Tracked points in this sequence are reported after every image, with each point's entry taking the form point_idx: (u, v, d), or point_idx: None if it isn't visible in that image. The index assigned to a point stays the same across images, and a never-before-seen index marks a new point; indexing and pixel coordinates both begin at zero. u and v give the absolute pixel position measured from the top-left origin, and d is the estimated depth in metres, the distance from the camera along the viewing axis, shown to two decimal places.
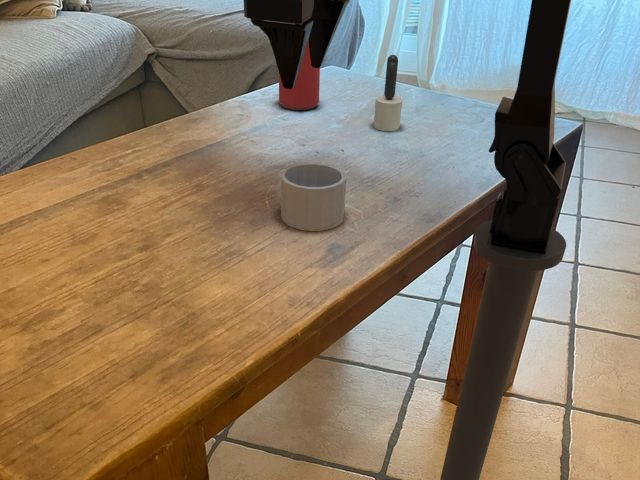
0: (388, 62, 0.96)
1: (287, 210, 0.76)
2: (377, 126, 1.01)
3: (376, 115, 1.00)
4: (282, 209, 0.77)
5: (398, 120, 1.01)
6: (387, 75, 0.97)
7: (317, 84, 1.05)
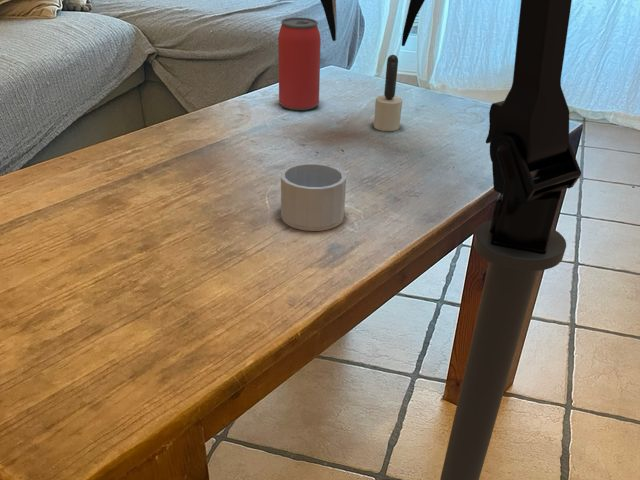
0: (388, 62, 0.96)
1: (287, 210, 0.76)
2: (377, 126, 1.01)
3: (376, 115, 1.00)
4: (282, 209, 0.77)
5: (398, 120, 1.01)
6: (387, 75, 0.97)
7: (317, 84, 1.05)
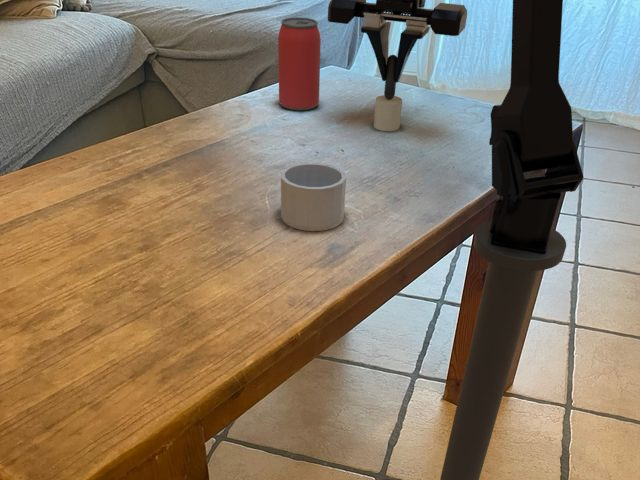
0: (388, 62, 0.96)
1: (287, 210, 0.76)
2: (377, 126, 1.01)
3: (376, 115, 1.00)
4: (282, 209, 0.77)
5: (398, 120, 1.01)
6: (387, 75, 0.97)
7: (317, 84, 1.05)
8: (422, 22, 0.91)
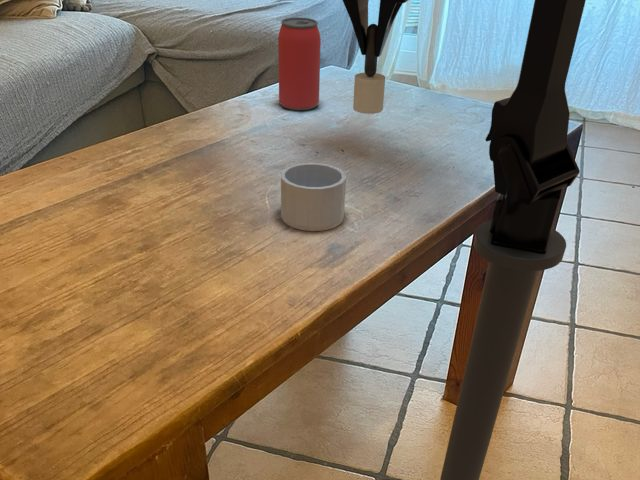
0: (367, 32, 0.83)
1: (287, 210, 0.76)
2: (357, 108, 0.88)
3: (355, 95, 0.87)
4: (282, 209, 0.77)
5: (381, 101, 0.87)
6: (367, 48, 0.84)
7: (317, 84, 1.05)
8: None
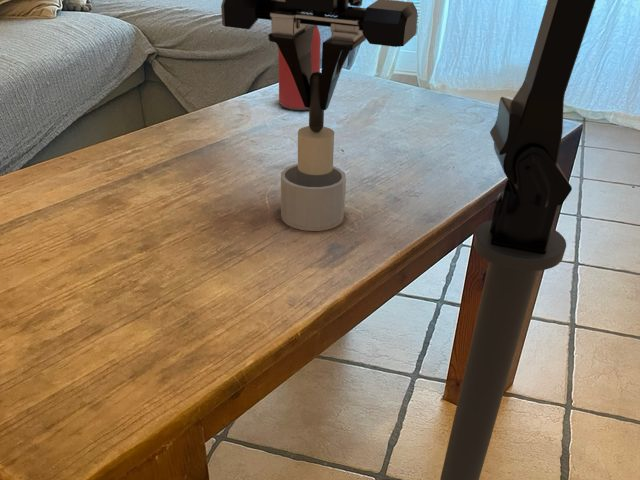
0: (310, 82, 0.69)
1: (287, 210, 0.76)
2: (301, 168, 0.74)
3: (299, 153, 0.73)
4: (282, 209, 0.77)
5: (330, 160, 0.73)
6: (310, 100, 0.70)
7: None
8: (353, 27, 0.64)
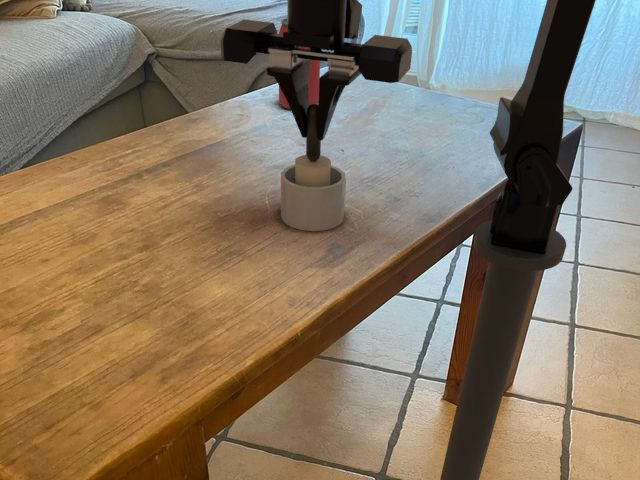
0: (307, 113, 0.70)
1: (287, 210, 0.76)
2: None
3: (297, 182, 0.75)
4: (282, 209, 0.77)
5: None
6: (308, 130, 0.71)
7: (317, 84, 1.05)
8: (349, 62, 0.65)
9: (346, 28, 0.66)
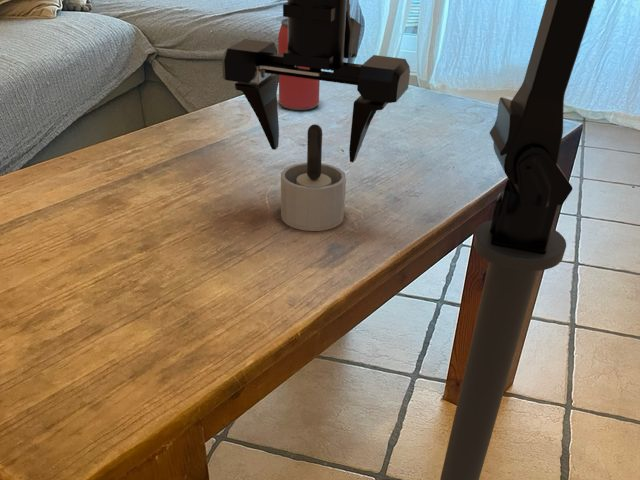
0: (308, 134, 0.72)
1: (287, 210, 0.76)
2: None
3: None
4: (282, 209, 0.77)
5: None
6: (308, 150, 0.73)
7: (317, 84, 1.05)
8: None
9: (345, 48, 0.67)
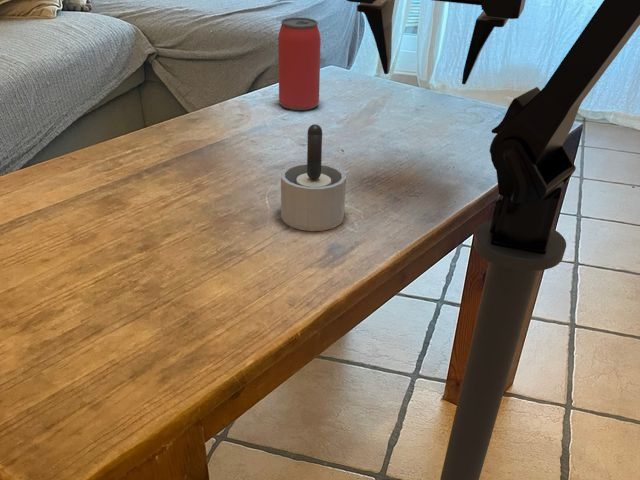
0: (308, 134, 0.72)
1: (287, 210, 0.76)
2: None
3: None
4: (282, 209, 0.77)
5: None
6: (308, 150, 0.73)
7: (317, 84, 1.05)
8: None
9: None
